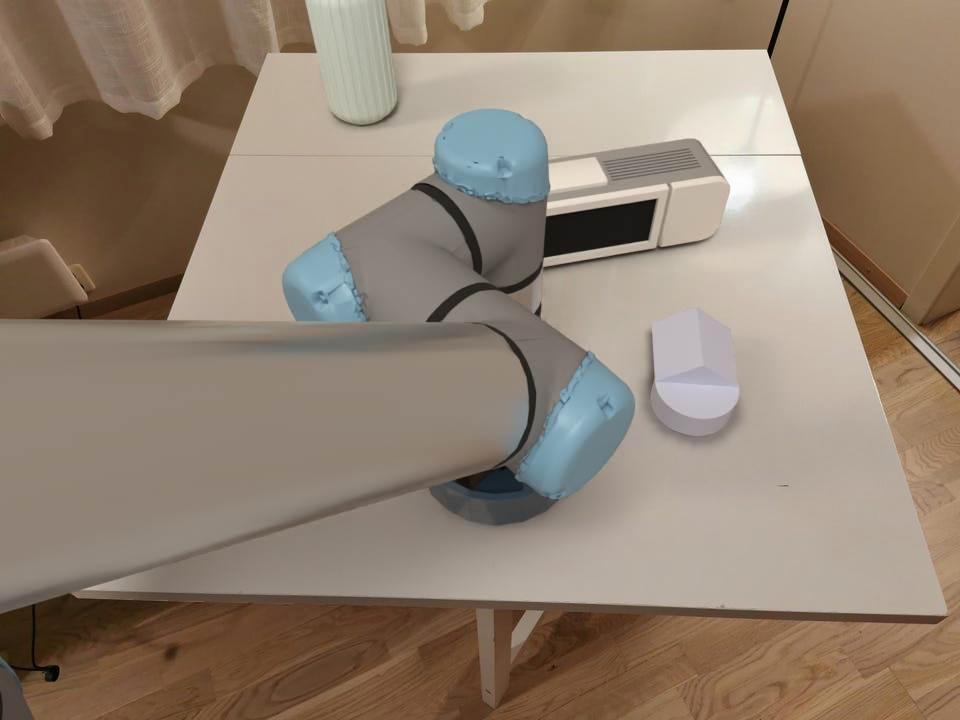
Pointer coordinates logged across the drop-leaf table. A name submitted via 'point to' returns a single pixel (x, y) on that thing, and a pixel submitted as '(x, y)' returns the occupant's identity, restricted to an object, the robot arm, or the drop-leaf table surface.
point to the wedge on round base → (693, 373)
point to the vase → (354, 58)
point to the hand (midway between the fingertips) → (498, 450)
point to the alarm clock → (632, 200)
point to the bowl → (493, 499)
